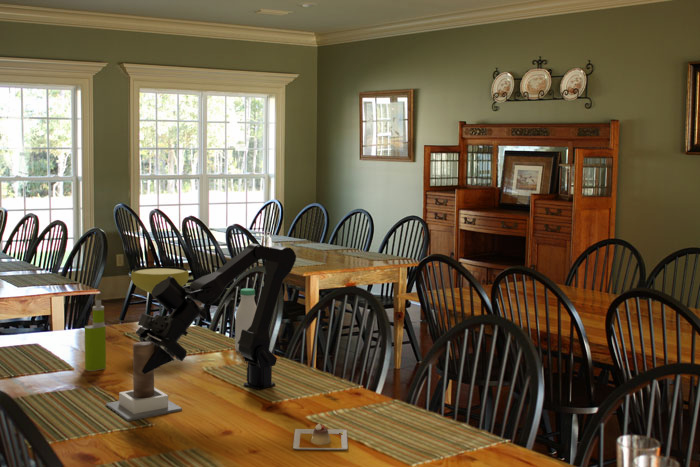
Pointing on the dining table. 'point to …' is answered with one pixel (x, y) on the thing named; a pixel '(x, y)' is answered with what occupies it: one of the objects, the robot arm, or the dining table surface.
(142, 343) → the plug
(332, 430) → the dessert
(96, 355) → the vape
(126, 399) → the socket dock
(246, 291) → the milk bottle
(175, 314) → the robot arm
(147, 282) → the cocktail glass
